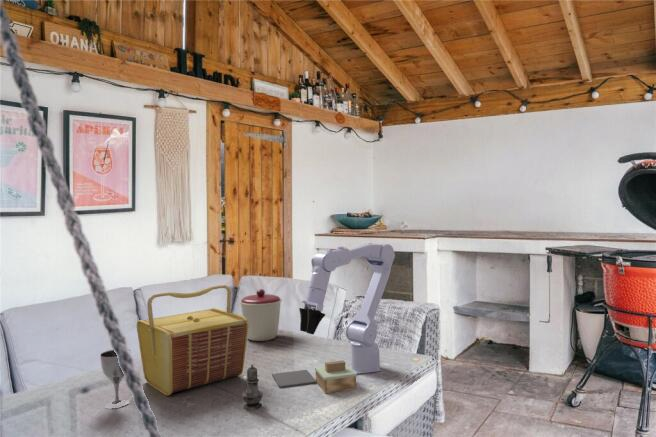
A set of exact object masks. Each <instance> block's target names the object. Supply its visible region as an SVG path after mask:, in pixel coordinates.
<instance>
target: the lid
mask: <svg viewBox="0 0 656 437" xmlns="http://www.w3.org/2000/svg"><path fill="white" fill-rule="evenodd" d="M349 366H350V365H348V364H347V363H346V361H344V360H335V361H326V362H324V365H322V366H315V367H314V371H315V373H316V372H317V373H318V374H319V375H320V376H321V377H322V378H323V379H324V380H332V379H339V378H347V377H355V376H356V377H357V376H358V374H357V373H356V372H354V371H353V370H352V369H351V368H350V367H349Z"/></svg>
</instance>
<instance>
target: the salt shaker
mask: <svg viewBox="0 0 656 437" xmlns="http://www.w3.org/2000/svg"><path fill="white" fill-rule="evenodd" d="M246 378H247V379H246V380H245V382H246V387H247V388H246V390H245V391H244V392H243V393H241V394H242V395H241V396H242V397H243V401H244V402H245V404H244V405H243V409H244V410H247V411H255V410H259V409H261V408H262V407H263V403H262V402H261V401H262V398H263V396H264V392H263V391H262V390H259V381H260V380H259V378H258V368H257V367H255V366H254V364H250V367H248V368H247V370H246Z"/></svg>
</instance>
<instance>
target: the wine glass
mask: <svg viewBox="0 0 656 437" xmlns="http://www.w3.org/2000/svg"><path fill="white" fill-rule="evenodd" d="M128 350H129V351H130V352H131V349H128ZM100 365H101V370H102V373H103V375H104V376H105V377H106V378H107V379H108V380H109V381H111V383H112V384H113V387H114V388H113V389H114V393H115V394H114V395H115V397H114V398H115V399H114V400H115V401H113V400H112V401H113V402H112V404H117V403H120V402H121V401H122V400H119V399H120V398H119V388H120V384H121V381H122V379H124V377H125V376H124V374H123V372H122V370H121V368H120V366H119V363H118V358H117V355H116V353H115V352H114V349H109V350H106V351H103V352H102V353H100Z"/></svg>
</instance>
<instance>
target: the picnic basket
mask: <svg viewBox="0 0 656 437" xmlns="http://www.w3.org/2000/svg"><path fill="white" fill-rule="evenodd" d="M217 289H226V292H227V294H226V295H227V297H226V310H223V309H220V308H216V307H212V308H208V309H204V310H197V311H191V312H185V313H180V314H172V315H169V316H168V315H167V316H162V317H156V318H154V314H153V306H152V305H153V304H152V303H153V300H154V299H156V298H159V297H165V296H166V297H168V296H169V297H173V298H176V299H177V298H178V299H179V298H180V299H189V298H195V297H196V298H197V297H201V296H202V295H206V294H208V293H210V292H211V291H213V290H217ZM231 302H232V290H231V287H230V286H228V285H226V284H221V285H215V286H210V287H207V288H203V289H201V290H199V291H198V290H197V291H193V292H186V293H183V292H170V291H169V292H159V293H154V294H152V295H151V296H150V297H149V298H148V299H147V303H146V306H147V315H148V319H139V320H137V322H136V333H137V339H138V346H139V352H140V357H141V365H142V373H143V376H144V379H145V381H146V383H147V384H148V385H149V386H151V387H153V389H155V390H157V391H158V392H160V393H161V394H163V395H164V396H170V395H172V394H173V393H178V392H182V391H185V390H189V389H192V388H196V387H200V386H203V385H207V384H210V383H214V382H217V381H222V380H225V379H228V378H229V379H230V378H232V377H233V378H234V377H240V376H242V374H243V373H244V372H243V371H244V366H245V357H246V350H247V342H248V338H247V335H248V320H247V319H246V318H245V317H244V316H243V315H240V314H237V313H232V312H231Z"/></svg>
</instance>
